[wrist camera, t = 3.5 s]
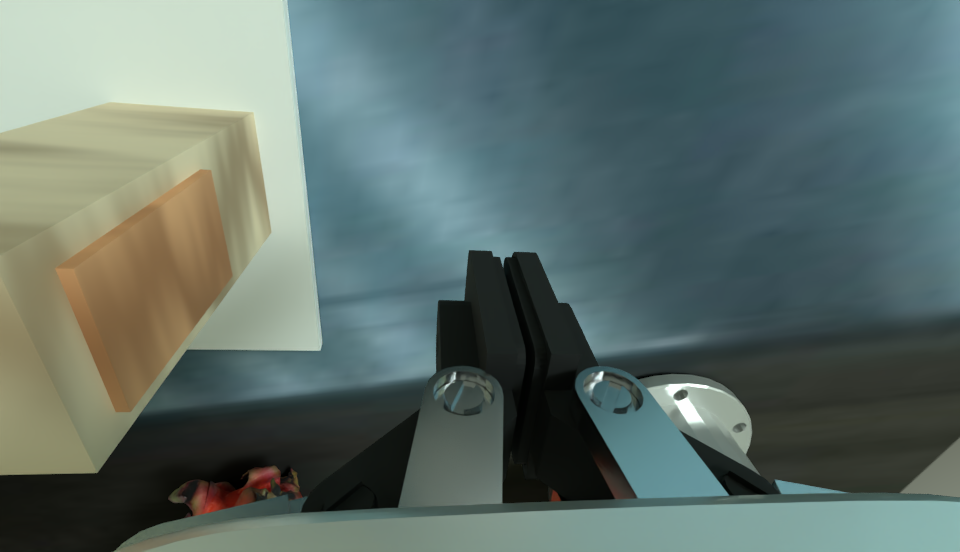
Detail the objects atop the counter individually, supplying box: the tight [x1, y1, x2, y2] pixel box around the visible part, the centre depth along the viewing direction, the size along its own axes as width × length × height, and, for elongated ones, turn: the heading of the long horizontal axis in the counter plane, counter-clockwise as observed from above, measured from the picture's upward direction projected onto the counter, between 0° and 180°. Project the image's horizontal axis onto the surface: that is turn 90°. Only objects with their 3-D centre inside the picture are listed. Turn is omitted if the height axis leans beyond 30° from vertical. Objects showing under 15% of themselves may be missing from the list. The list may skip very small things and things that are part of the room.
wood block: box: [0, 102, 272, 475], centre depth 13 cm, size 5×5×12 cm
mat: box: [0, 0, 322, 351], centre depth 18 cm, size 18×20×1 cm
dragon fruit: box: [168, 465, 302, 518], centre depth 26 cm, size 8×8×12 cm
